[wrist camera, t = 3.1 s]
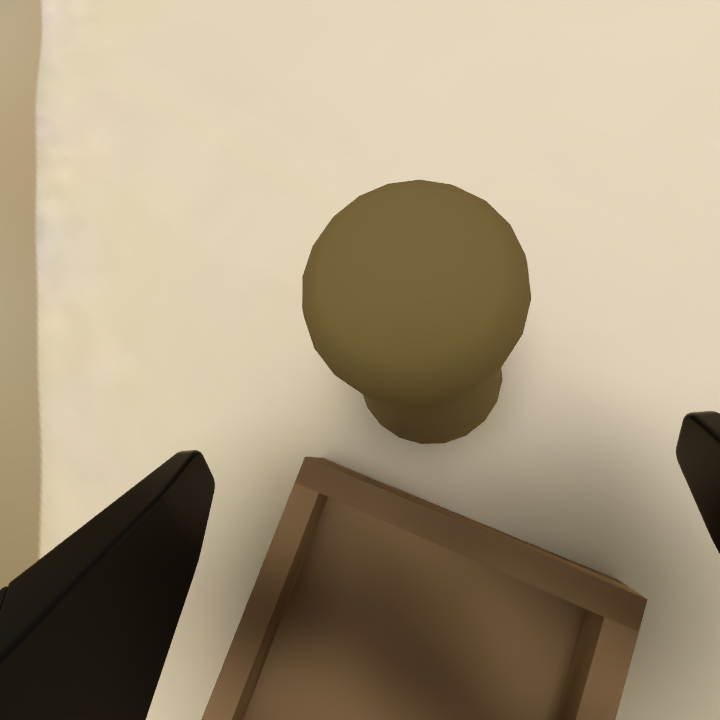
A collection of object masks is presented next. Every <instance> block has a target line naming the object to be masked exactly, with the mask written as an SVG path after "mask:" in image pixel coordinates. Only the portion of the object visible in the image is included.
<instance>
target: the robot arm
mask: <svg viewBox="0 0 720 720" xmlns="http://www.w3.org/2000/svg"><path fill="white" fill-rule="evenodd" d="M676 456H677V460H678V463H679V465H680V467H681V470H682V472H683V474H684V477H685V479H686V481H687V483H688V486H689V488H690V490H691V493H692V495H693V497H694V499H695V502H696V504H697V506H698V509H699V511H700V513H701V516H702V518H703V520H704V522H705V525H706V527H707V529H708V531H709V533H710V536H711V538H712V540H713V542H714V544H715V546H716V548H717V549H718V551H719V553H720V413H717V412H714V411H705V412H692V413H689V414H687V415H686V416H685V417H684V419H683V422H682V426H681V430H680V434H679V439H678V443H677V447H676ZM214 489H215V482H214V478H213V475H212V473H211V471H210V469H209V467H208V465H207V463H206V461H205V459H204V457H203V455H202V453H201V452H199V451H197V450H191V451H181V452H178V453H176V454H175V455H174V456H173V457H171V458H170V459H169V460H167V461H166V462H165V463H163V464H162V465H161V466H160V467H158V468H157V469H156V470H154V471H153V472H152V473H151V474H149V475H148V476H147V477H145V478H144V479H143V480H142V481H140V482H139V483H138V484H136V485H135V486H134V487H133V488H131V489H130V490H129V491H127V492H126V493H125V494H124V495H122V496H121V497H120V498H118V499H117V500H116V501H114V502H113V503H112V504H111V505H109V506H108V507H107V508H105V509H104V510H103V511H102V512H100V513H99V514H98V515H96V516H95V517H94V518H93V519H91V520H90V521H89V522H87V523H86V524H85V525H84V526H82V527H81V528H80V529H78V530H77V531H76V532H75V533H73V534H72V535H71V536H69V537H68V538H67V539H65V540H64V541H63V542H62V543H60V544H59V545H58V546H56V547H55V548H54V549H53V550H51V551H50V552H49V553H47V554H46V555H45V556H44V557H42V558H41V559H40V560H38V561H37V562H36V563H35V564H34V565H32V566H31V567H29V568H28V569H27V570H25V571H24V572H23V573H22V574H20V575H19V576H18V577H17V578H15V579H14V580H13V581H11V582H10V583H9V586H6V587H3V588H2V589H1V590H0V720H146V717H147V714H148V711H149V708H150V705H151V702H152V699H153V696H154V693H155V690H156V687H157V684H158V681H159V678H160V675H161V672H162V669H163V666H164V663H165V660H166V657H167V654H168V651H169V648H170V645H171V642H172V639H173V636H174V633H175V630H176V627H177V624H178V621H179V618H180V615H181V612H182V609H183V606H184V603H185V600H186V597H187V594H188V591H189V588H190V585H191V582H192V579H193V576H194V573H195V570H196V566H197V563H198V560H199V556H200V552H201V548H202V544H203V539H204V535H205V530H206V526H207V521H208V517H209V512H210V508H211V503H212V499H213V494H214Z"/></svg>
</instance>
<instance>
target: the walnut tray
mask: <svg viewBox="0 0 720 720" xmlns="http://www.w3.org/2000/svg"><path fill="white" fill-rule="evenodd" d="M646 602H647V599H646V598H644V597H643V596H641V595H640V594H638V593H637V592H635V591H634V590H632V589H631V588H629V587H628V586H626V585H625V584H623V583H622V582H620V581H619V580H616V579H614V578H612V577H609V576H607V575H604V574H602V573H600V572H597V571H595V570H592V569H590V568H587V567H585V566H583V565H580V564H578V563H575V562H573V561H570V560H568V559H566V558H563V557H561V556H558V555H556V554H554V553H551V552H549V551H546V550H544V549H541V548H539V547H537V546H534V545H532V544H529V543H527V542H524V541H522V540H520V539H517V538H515V537H512V536H510V535H508V534H505V533H503V532H500V531H498V530H495V529H493V528H491V527H488V526H486V525H483V524H481V523H479V522H476V521H474V520H471V519H469V518H466V517H464V516H462V515H459V514H457V513H454V512H452V511H449V510H447V509H445V508H442V507H440V506H437V505H435V504H433V503H430V502H428V501H425V500H423V499H420V498H418V497H416V496H413V495H411V494H408V493H406V492H403V491H401V490H399V489H396V488H394V487H391V486H389V485H387V484H384V483H382V482H379V481H377V480H374V479H372V478H370V477H367V476H365V475H362V474H360V473H357V472H355V471H353V470H350V469H348V468H345V467H343V466H341V465H338V464H336V463H333V462H331V461H328V460H326V459H324V458H314V457H305V458H304V461H303V464H302V466H301V469H300V471H299V474H298V476H297V479H296V481H295V484H294V486H293V489H292V491H291V494H290V497H289V499H288V502H287V504H286V507H285V509H284V512H283V514H282V517H281V519H280V522H279V524H278V527H277V529H276V532H275V535H274V537H273V540H272V542H271V545H270V547H269V550H268V552H267V555H266V557H265V560H264V562H263V565H262V568H261V570H260V573H259V575H258V578H257V580H256V583H255V585H254V588H253V590H252V593H251V595H250V598H249V601H248V603H247V606H246V608H245V611H244V613H243V616H242V618H241V621H240V623H239V626H238V628H237V631H236V633H235V636H234V639H233V641H232V644H231V646H230V649H229V651H228V654H227V656H226V659H225V661H224V664H223V666H222V669H221V672H220V674H219V677H218V679H217V682H216V684H215V687H214V689H213V692H212V694H211V697H210V699H209V702H208V704H207V707H206V710H205V712H204V715H203V717H202V720H615V718H616V714H617V710H618V707H619V703H620V699H621V695H622V692H623V688H624V684H625V680H626V677H627V673H628V669H629V666H630V662H631V658H632V654H633V651H634V647H635V643H636V640H637V636H638V632H639V628H640V625H641V621H642V617H643V614H644V610H645V606H646Z"/></svg>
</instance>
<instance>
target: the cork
mask: <svg viewBox="0 0 720 720" xmlns="http://www.w3.org/2000/svg"><path fill="white" fill-rule="evenodd" d="M530 301H531V293H530V284H529V275H528V266H527V261H526V256H525V253H524V251H523V249H522V247H521V245H520V243H519V241H518V239H517V237H516V235H515V233H514V231H513V229H512V227H511V225H510V224H509V223H508V222H507V221H506V220H505V219H504V218H503V217H502V216H501V215H500V214H499V213H498V212H497V211H496V210H495V209H494V208H493V207H492V206H491V205H490V204H488V203H487V202H486V201H485V200H483V199H481V198H479V197H477V196H475V195H472V194H470V193H468V192H466V191H464V190H462V189H460V188H458V187H456V186H453V185H450V184H444V183H437V182H431V181H424V180H414V181H406V182H399V183H391V184H387V185H384V186H382V187H380V188H377V189H375V190H373V191H370V192H368V193H366V194H363V195H361V196H359V197H358V198H356V199H355V200H354V201H353V202H351V203H350V204H349V205H348V206H346V207H345V208H344V209H343V210H341V211H340V212H339V213H338V214H336V215H335V216H334V217H333V218H332V220H331V221H330V222H329V224H328V225H327V227H326V228H325V229H324V231H323V232H322V234H321V235H320V236H319V238H318V239H317V241H316V242H315V244H314V245H313V247H312V250H311V253H310V256H309V259H308V262H307V265H306V268H305V271H304V274H303V299H302V309H303V314H304V318H305V321H306V324H307V327H308V330H309V333H310V336H311V339H312V343H313V346H314V348H315V350H316V351H317V352H318V354H319V355H320V356H321V357H322V359H323V360H324V361H325V363H326V364H327V365H328V367H329V368H330V369H331V371H332V372H333V373H334V375H336V376H337V377H339V378H340V379H341V380H343V381H344V382H346V383H347V384H349V385H350V386H352V387H353V388H355V389H356V390H358V391H359V392H361V393H362V394H363V396H364V399H365V402H366V404H367V407H368V409H369V410H370V411H371V413H372V414H373V415H374V416H375V418H376V419H377V420H378V422H379V423H380V424H381V425H382V426H383V427H385V428H386V429H388V430H389V431H391V432H392V433H394V434H395V435H397V436H398V437H400V438H403V439H407V440H410V441H414V442H417V443H420V444H430V443H446V442H449V441H451V440H454V439H457V438H460V437H462V436H465V435H467V434H468V433H470V432H471V431H472V430H473V429H475V428H476V427H477V426H478V425H480V424H481V423H482V422H483V421H485V419H486V418H487V416H488V414H489V413H490V411H491V410H492V408H493V407H494V405H495V404H496V402H497V399H498V395H499V391H500V386H501V382H502V372H501V367H502V365H503V363H504V362H505V360H506V359H507V357H508V356H509V354H510V353H511V351H512V350H513V348H514V347H515V345H516V343H517V342H518V340H519V339H520V337H521V336H522V334H523V330H524V326H525V322H526V318H527V314H528V310H529V306H530Z"/></svg>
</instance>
